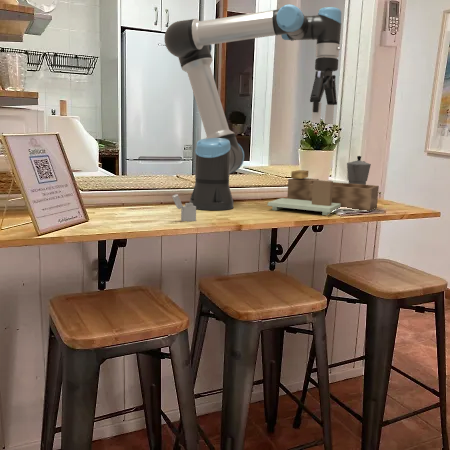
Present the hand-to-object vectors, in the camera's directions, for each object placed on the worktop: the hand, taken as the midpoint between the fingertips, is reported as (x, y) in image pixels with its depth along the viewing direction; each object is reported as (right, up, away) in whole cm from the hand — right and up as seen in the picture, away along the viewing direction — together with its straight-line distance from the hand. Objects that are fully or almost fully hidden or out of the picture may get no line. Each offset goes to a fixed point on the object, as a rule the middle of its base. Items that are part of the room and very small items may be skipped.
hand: (322, 123), depth 172 cm
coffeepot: (+19, -25, +30) cm, 44 cm away
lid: (-6, -30, +2) cm, 30 cm away
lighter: (-45, -33, -24) cm, 61 cm away
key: (-5, -17, +20) cm, 26 cm away
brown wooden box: (+6, -27, +16) cm, 32 cm away
